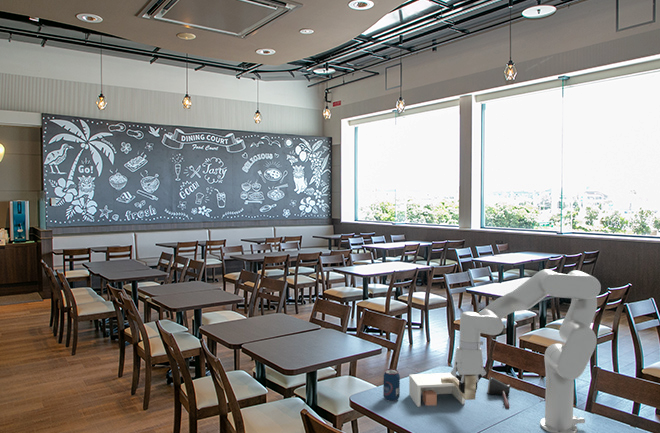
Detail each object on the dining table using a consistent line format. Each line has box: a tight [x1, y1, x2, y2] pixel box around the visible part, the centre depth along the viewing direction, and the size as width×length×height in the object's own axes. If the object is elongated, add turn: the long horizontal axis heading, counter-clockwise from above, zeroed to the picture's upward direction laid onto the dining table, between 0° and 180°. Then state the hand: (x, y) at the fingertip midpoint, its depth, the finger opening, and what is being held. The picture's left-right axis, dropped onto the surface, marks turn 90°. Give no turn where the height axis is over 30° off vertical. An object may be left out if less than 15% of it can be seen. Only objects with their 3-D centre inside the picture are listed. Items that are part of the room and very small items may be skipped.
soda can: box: [382, 368, 401, 402], centre depth 206 cm, size 7×7×12 cm
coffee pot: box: [486, 376, 511, 409], centre depth 207 cm, size 8×18×8 cm
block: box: [422, 390, 438, 406], centre depth 203 cm, size 4×4×4 cm
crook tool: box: [441, 375, 477, 401], centre depth 190 cm, size 7×17×9 cm, turn 7°
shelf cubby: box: [408, 372, 466, 408], centre depth 206 cm, size 20×12×9 cm, turn 97°
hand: (467, 391), depth 184 cm, fingers closed on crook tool, 4 cm apart
